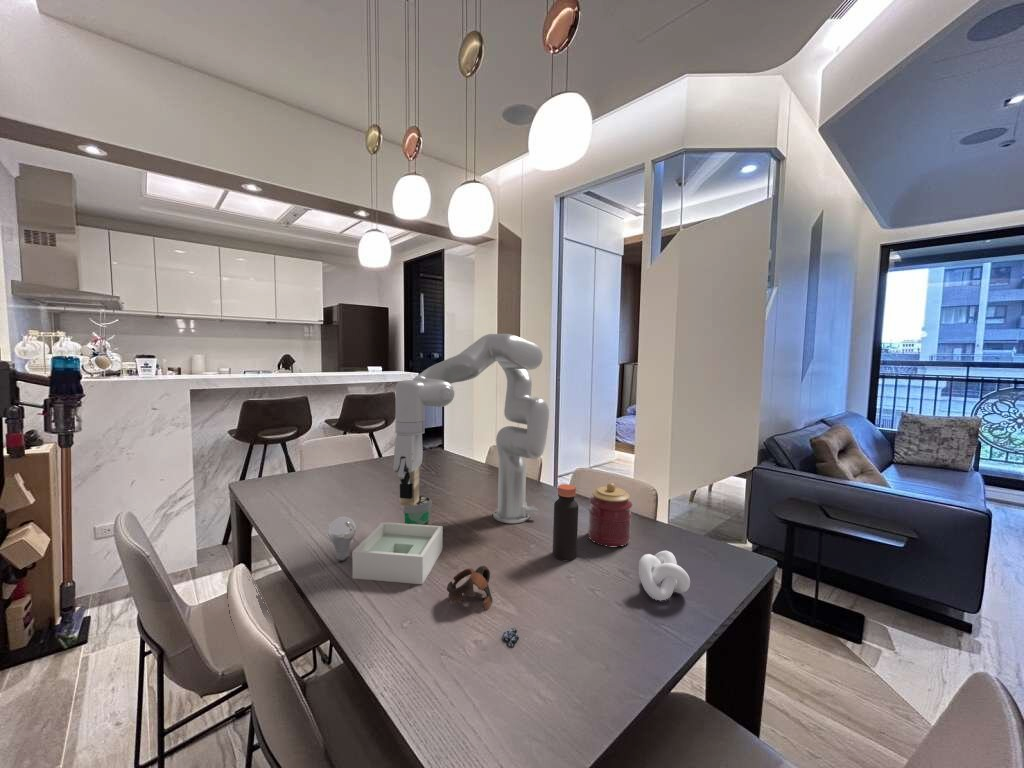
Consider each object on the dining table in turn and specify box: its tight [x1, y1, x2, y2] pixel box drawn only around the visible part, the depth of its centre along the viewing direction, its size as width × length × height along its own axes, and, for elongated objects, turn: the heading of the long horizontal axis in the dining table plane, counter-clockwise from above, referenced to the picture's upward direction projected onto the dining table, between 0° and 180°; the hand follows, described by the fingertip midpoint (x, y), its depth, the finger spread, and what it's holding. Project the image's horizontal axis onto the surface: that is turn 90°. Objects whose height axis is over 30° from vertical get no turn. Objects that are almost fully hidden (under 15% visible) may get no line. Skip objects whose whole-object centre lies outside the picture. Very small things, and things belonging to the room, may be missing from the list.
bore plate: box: [369, 534, 432, 555], centre depth 112 cm, size 16×16×3 cm
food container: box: [403, 493, 433, 525], centre depth 132 cm, size 12×6×10 cm, turn 168°
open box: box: [351, 521, 444, 585], centre depth 112 cm, size 18×18×7 cm
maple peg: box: [398, 466, 420, 506], centre depth 111 cm, size 4×4×10 cm
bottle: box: [552, 483, 579, 561], centre depth 118 cm, size 7×7×20 cm
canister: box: [587, 482, 633, 546], centre depth 129 cm, size 13×13×18 cm
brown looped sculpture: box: [446, 565, 494, 611], centre depth 97 cm, size 12×10×8 cm
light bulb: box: [327, 516, 357, 562], centre depth 113 cm, size 7×7×12 cm
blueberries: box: [501, 627, 529, 649], centre depth 84 cm, size 7×8×2 cm
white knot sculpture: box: [638, 550, 691, 602], centre depth 102 cm, size 11×12×9 cm
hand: (409, 494), depth 111 cm, fingers closed on maple peg, 4 cm apart
